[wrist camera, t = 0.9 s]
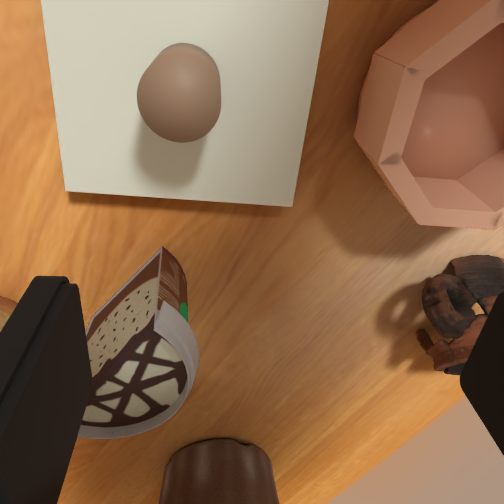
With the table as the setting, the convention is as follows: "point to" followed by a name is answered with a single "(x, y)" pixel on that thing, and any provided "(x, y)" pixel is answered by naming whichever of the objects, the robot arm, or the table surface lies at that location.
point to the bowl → (440, 114)
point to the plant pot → (219, 475)
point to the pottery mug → (460, 308)
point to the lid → (183, 95)
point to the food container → (140, 353)
